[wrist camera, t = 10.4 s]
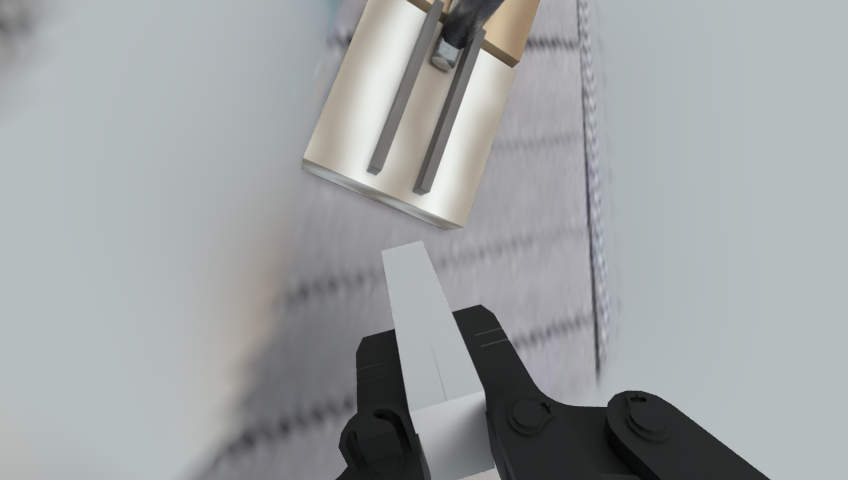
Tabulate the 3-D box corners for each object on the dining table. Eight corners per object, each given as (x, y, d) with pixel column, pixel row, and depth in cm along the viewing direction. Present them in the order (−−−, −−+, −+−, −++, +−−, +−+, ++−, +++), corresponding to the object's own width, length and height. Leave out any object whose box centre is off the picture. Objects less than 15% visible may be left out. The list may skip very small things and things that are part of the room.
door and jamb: (302, 169, 29) (303, 142, 21) (401, -73, 32) (433, -169, 25) (445, 229, 33) (488, 224, 26) (519, 11, 37) (576, -49, 29)
